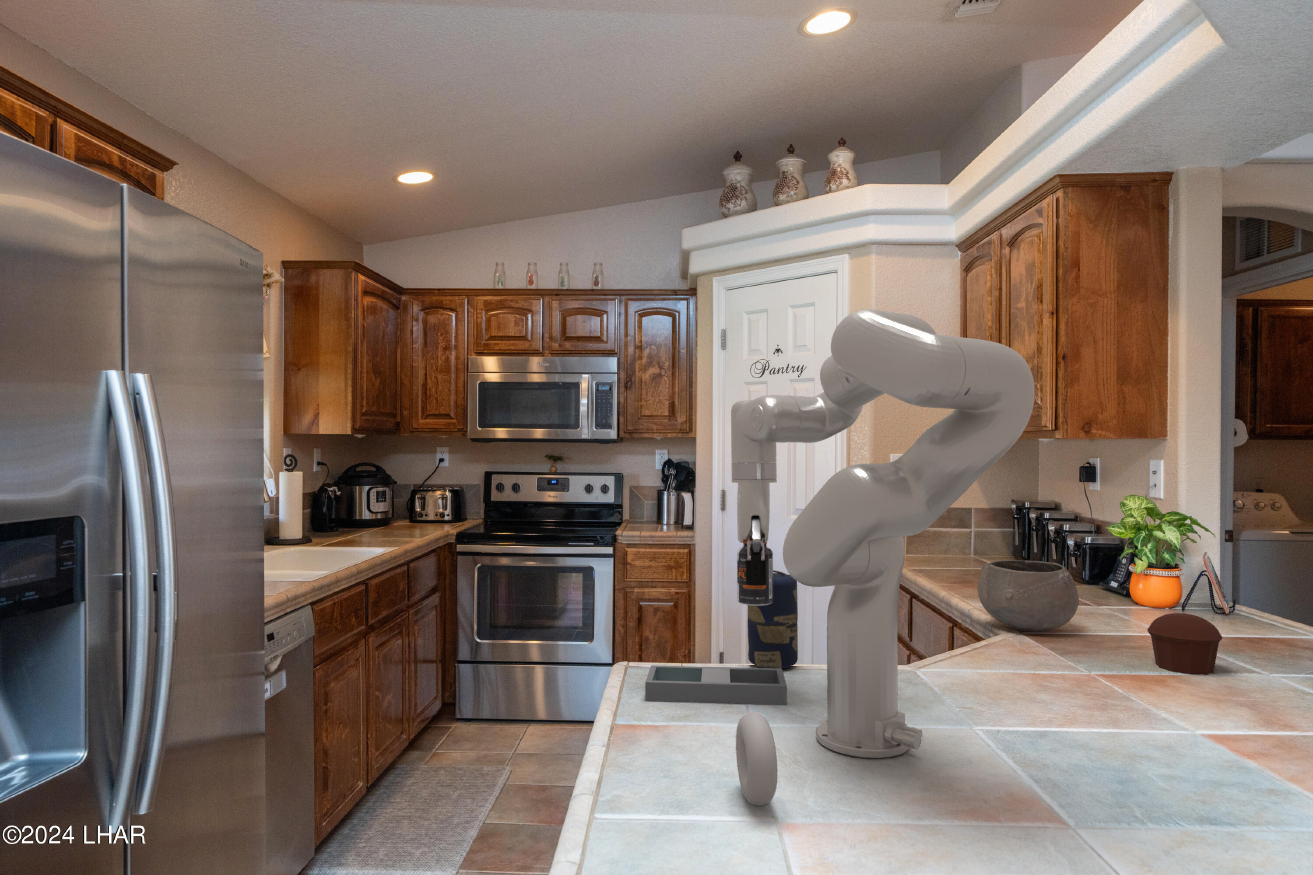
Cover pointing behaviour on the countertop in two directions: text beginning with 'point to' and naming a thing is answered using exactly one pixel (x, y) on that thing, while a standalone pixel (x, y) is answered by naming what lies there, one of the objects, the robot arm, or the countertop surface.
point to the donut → (756, 758)
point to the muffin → (1184, 643)
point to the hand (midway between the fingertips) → (755, 580)
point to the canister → (775, 626)
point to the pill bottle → (754, 593)
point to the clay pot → (1028, 594)
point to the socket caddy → (716, 685)
